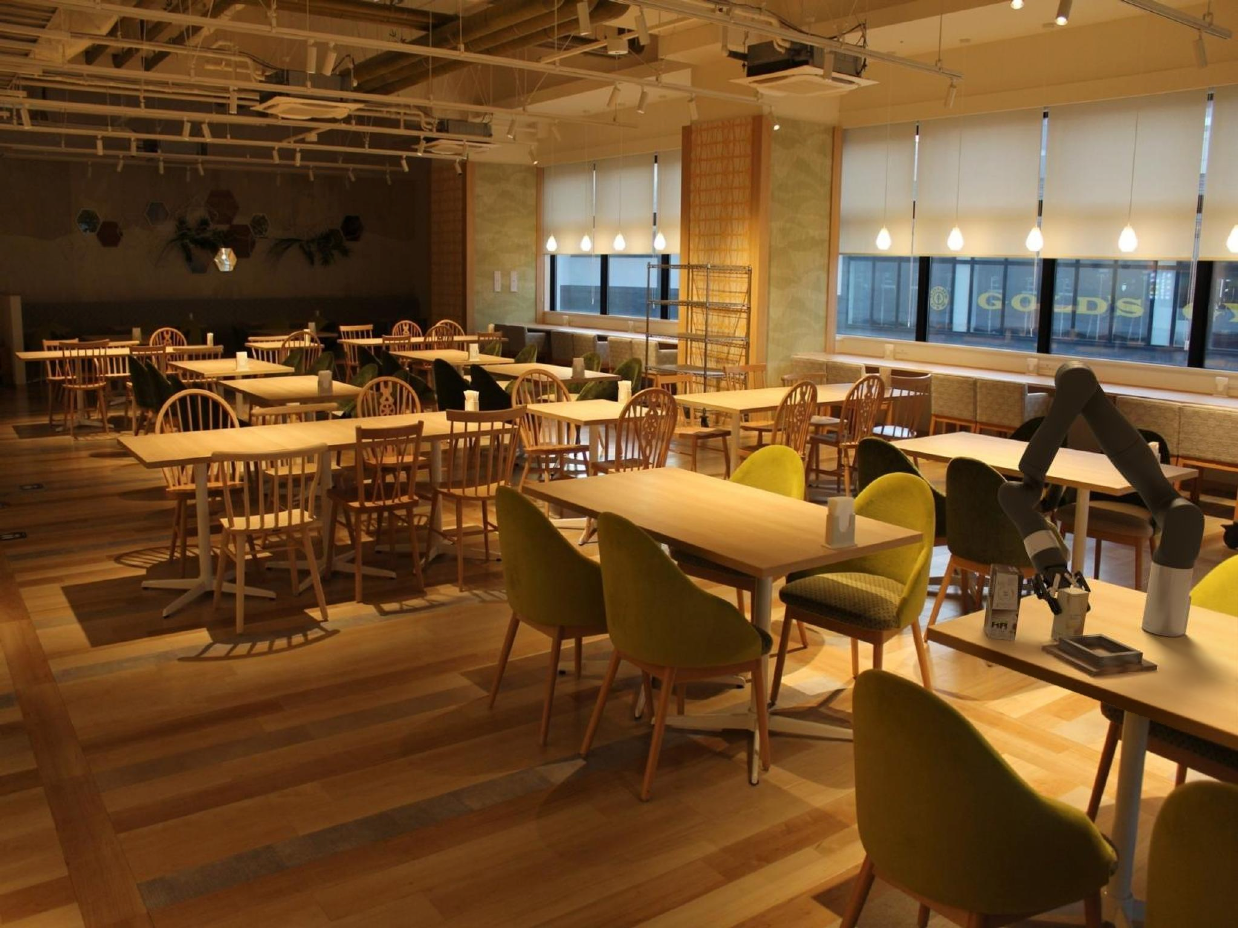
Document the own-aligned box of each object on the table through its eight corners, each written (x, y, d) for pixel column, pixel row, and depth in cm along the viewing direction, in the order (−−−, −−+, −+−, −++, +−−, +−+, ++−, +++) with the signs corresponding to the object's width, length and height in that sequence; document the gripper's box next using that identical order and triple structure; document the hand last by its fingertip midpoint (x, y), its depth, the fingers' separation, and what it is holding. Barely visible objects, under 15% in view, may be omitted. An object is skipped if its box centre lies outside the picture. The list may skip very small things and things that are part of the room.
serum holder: (1102, 644, 254) (1104, 630, 253) (1156, 669, 239) (1159, 654, 238) (1041, 650, 247) (1043, 635, 247) (1093, 676, 233) (1096, 660, 232)
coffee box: (1016, 641, 253) (1025, 575, 250) (987, 637, 254) (996, 572, 251) (1010, 628, 261) (1018, 565, 258) (982, 625, 263) (990, 562, 260)
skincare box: (1064, 643, 253) (1071, 594, 250) (1049, 637, 256) (1056, 588, 254) (1083, 640, 256) (1090, 591, 253) (1068, 634, 259) (1075, 586, 257)
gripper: (1030, 546, 257) (1058, 607, 249) (1077, 544, 262) (1106, 604, 254) (1012, 561, 263) (1039, 621, 254) (1058, 559, 268) (1086, 618, 259)
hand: (1073, 612), depth 254 cm, fingers open, 8 cm apart
